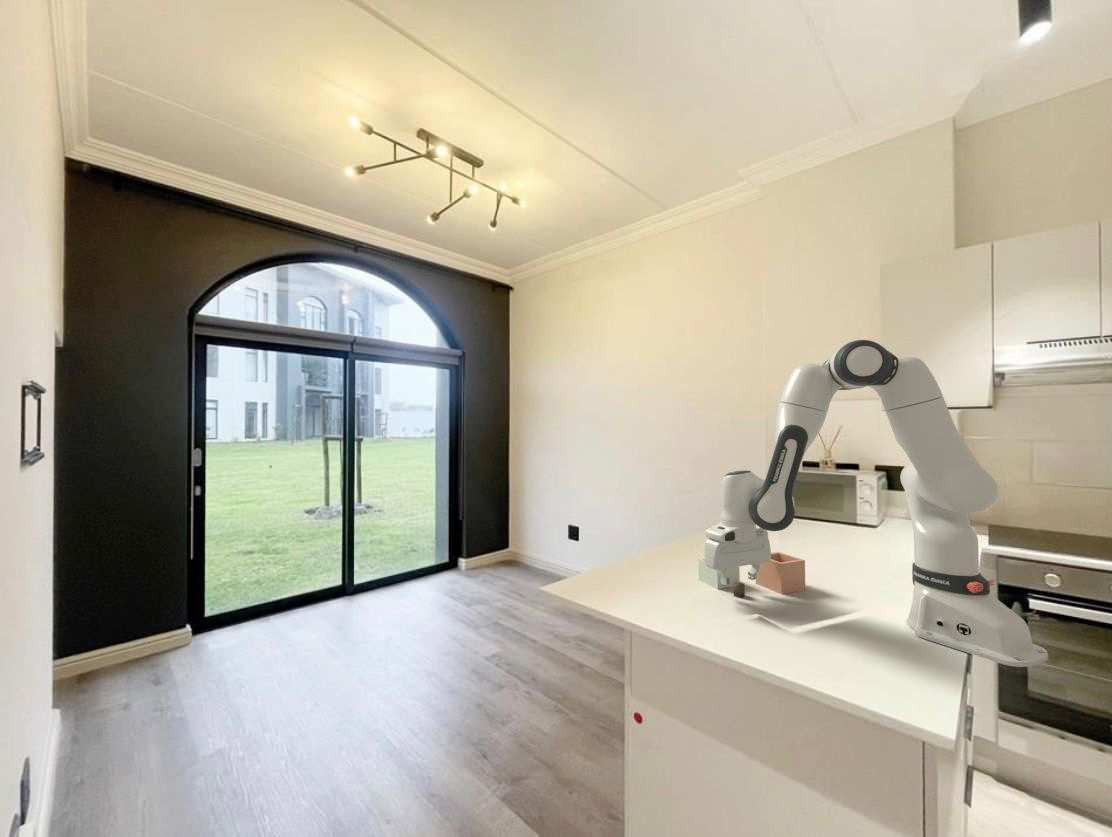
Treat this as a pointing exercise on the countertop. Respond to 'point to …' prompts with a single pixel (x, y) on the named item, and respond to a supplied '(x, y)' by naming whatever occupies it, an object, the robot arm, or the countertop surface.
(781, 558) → the planter
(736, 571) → the tub
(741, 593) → the lid
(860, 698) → the countertop surface
